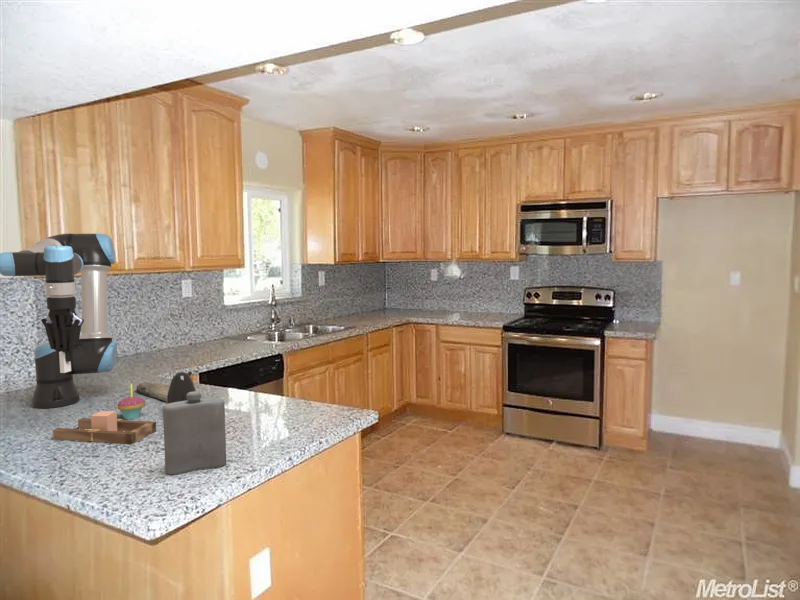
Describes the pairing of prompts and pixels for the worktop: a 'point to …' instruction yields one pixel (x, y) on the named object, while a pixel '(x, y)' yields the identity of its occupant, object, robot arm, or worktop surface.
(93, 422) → the block
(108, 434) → the slotted beam
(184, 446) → the flask
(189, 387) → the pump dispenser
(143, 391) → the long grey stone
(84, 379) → the worktop surface
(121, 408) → the cupcake
